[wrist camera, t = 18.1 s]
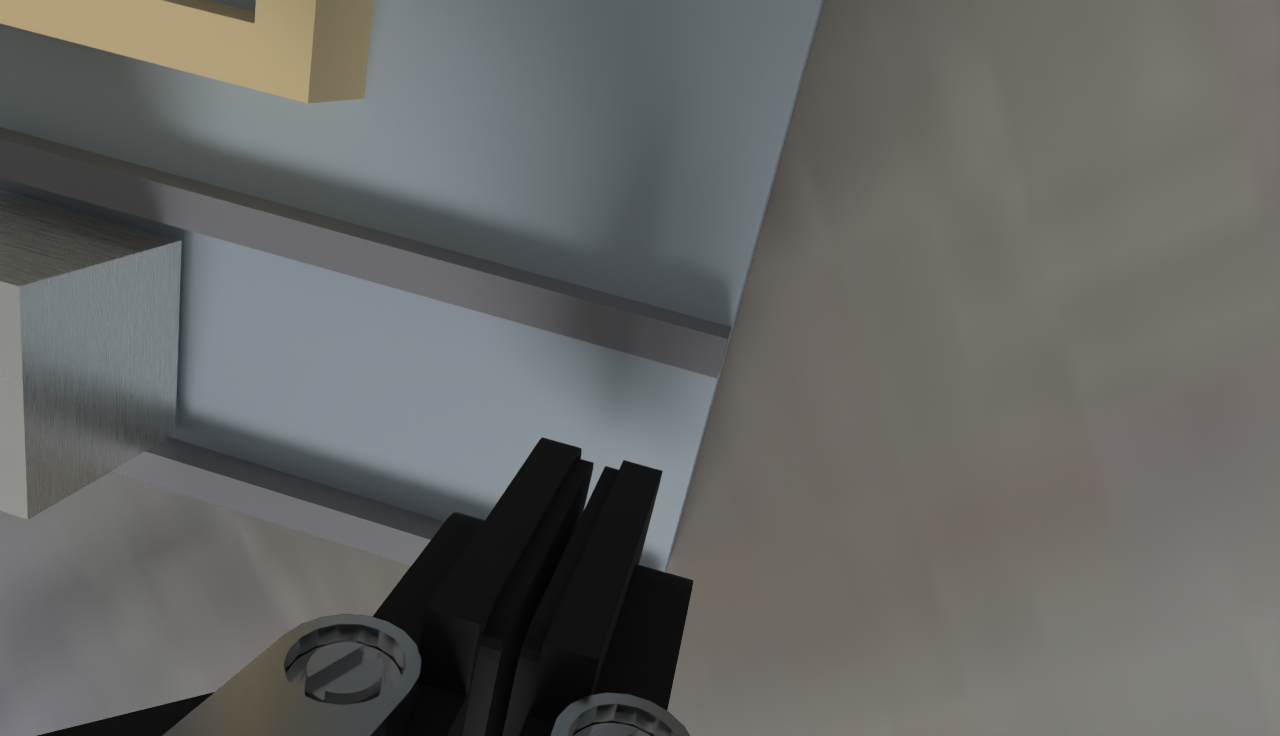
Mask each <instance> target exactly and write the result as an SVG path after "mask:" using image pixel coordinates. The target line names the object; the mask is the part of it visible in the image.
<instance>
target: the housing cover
mask: <svg viewBox="0 0 1280 736" xmlns="http://www.w3.org/2000/svg"><path fill="white" fill-rule="evenodd" d="M181 243H182V240H178V239H175V238H171V237H168V236H164V235H161V234H157V233H154V232H150V231H147V230H143V229H139V228H136V227H132V226H129V225H125V224H122V223H118V222H115V221H111V220H107V219H104V218H100V217H97V216H93V215H90V214H86V213H83V212H79V211H75V210H72V209H68V208H65V207H61V206H58V205H54V204H51V203H47V202H44V201H40V200H36V199H33V198H29V197H26V196H22V195H19V194H15V193H12V192H8V191H4V190H1V189H0V511H2V512H6V513H9V514H12V515H15V516H18V517H21V518H24V519H27V520H28V519H30V518H31V517H33V516H35V515H37V514H38V513H40V512H42V511H44V510H45V509H47V508H49V507H50V506H52V505H54V504H56V503H57V502H59V501H61V500H62V499H64V498H66V497H68V496H69V495H71V494H73V493H75V492H76V491H78V490H80V489H81V488H83V487H85V486H87V485H88V484H90V483H92V482H93V481H95V480H97V479H99V478H100V477H102V476H104V475H105V474H107V473H109V472H111V471H112V470H114V469H116V468H118V467H119V466H121V465H123V464H124V463H126V462H128V461H130V460H131V459H133V458H135V457H136V456H138V455H140V454H142V453H143V452H145V451H147V450H149V449H150V448H152V447H154V446H155V445H157V444H159V443H161V442H162V441H164V440H166V439H167V438H169V437H171V436H173V435H174V434H175V427H176V397H177V366H178V335H179V305H180V274H181Z"/></svg>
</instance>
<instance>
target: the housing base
mask: <svg viewBox="0 0 1280 736" xmlns="http://www.w3.org/2000/svg"><path fill="white" fill-rule="evenodd" d="M823 2H824V0H0V189H1V190H4V191H8V192H12V193H15V194H19V195H22V196H26V197H29V198H33V199H36V200H40V201H44V202H47V203H51V204H54V205H58V206H61V207H65V208H68V209H72V210H75V211H79V212H83V213H86V214H90V215H93V216H97V217H100V218H104V219H107V220H111V221H115V222H118V223H122V224H125V225H129V226H132V227H136V228H139V229H143V230H147V231H150V232H154V233H157V234H161V235H164V236H168V237H171V238H175V239H178V240H182V243H181V274H180V305H179V335H178V366H177V397H176V427H175V434H174V435H173V436H171V437H169V438H167V439H166V440H164V441H162V442H161V443H159V444H157V445H155V446H154V447H152V448H150V449H149V450H147V451H145V452H143V453H142V454H140V455H138V456H136V457H135V458H133V459H131V460H130V461H128V462H126V463H124V464H123V465H121V466H119V467H118V468H116V469H114V470H112V471H111V472H113V473H116V474H119V475H123V476H126V477H129V478H132V479H135V480H139V481H142V482H145V483H148V484H151V485H154V486H158V487H161V488H164V489H167V490H170V491H174V492H177V493H180V494H183V495H186V496H190V497H193V498H196V499H199V500H202V501H205V502H209V503H212V504H215V505H218V506H221V507H225V508H228V509H231V510H234V511H237V512H241V513H244V514H247V515H250V516H253V517H257V518H260V519H263V520H266V521H269V522H272V523H276V524H279V525H282V526H285V527H288V528H292V529H295V530H298V531H301V532H304V533H308V534H311V535H314V536H317V537H320V538H324V539H327V540H330V541H333V542H336V543H339V544H343V545H346V546H349V547H352V548H355V549H359V550H362V551H365V552H368V553H371V554H375V555H378V556H381V557H384V558H387V559H390V560H394V561H397V562H400V563H403V564H406V565H410V566H412V564H413V563H414V562H415V560H416V559H417V558H418V556H419V555H420V554H421V552H422V551H423V550H424V549H425V547H426V546H427V545H428V543H429V542H430V541H431V539H432V538H433V537H434V535H435V534H436V533H437V531H438V530H439V529H440V528H441V526H442V525H443V524H444V522H445V521H446V520H447V518H448V517H449V516H450V515H451V514H452V513H454V512H459V513H462V514H465V515H469V516H472V517H476V518H479V519H483V520H486V518H487V517H488V515H489V514H490V512H491V511H492V509H493V508H494V506H495V505H496V503H497V502H498V500H499V499H500V498H501V496H502V495H503V493H504V492H505V490H506V489H507V487H508V486H509V484H510V483H511V481H512V480H513V478H514V477H515V475H516V474H517V472H518V471H519V469H520V468H521V467H522V465H523V464H524V462H525V461H526V459H527V458H528V456H529V455H530V453H531V452H532V450H533V449H534V447H535V446H536V444H537V443H538V441H539V440H540V439H541V438H542V437H543V438H547V439H550V440H554V441H558V442H561V443H565V444H568V445H572V446H575V447H579V448H581V449H582V453H581V459H583V460H586V461H590V462H593V463H594V466H593V472H592V477H591V481H590V485H589V490H588V494H587V499H586V503H585V507H586V505H587V503H588V501H589V499H590V497H591V495H592V492H593V490H594V488H595V486H596V484H597V482H598V480H599V478H600V476H601V474H602V471H603V469H604V467H605V466H608V467H611V468H615V469H618V470H619V469H620V467H621V464H622V462H623V460H626V461H629V462H633V463H636V464H640V465H643V466H647V467H651V468H654V469H658V470H661V471H663V472H662V477H661V481H660V485H659V489H658V493H657V496H656V500H655V504H654V508H653V512H652V516H651V520H650V523H649V527H648V531H647V535H646V539H645V543H644V547H643V551H642V554H641V558H640V562H639V565H642V566H645V567H649V568H652V569H656V570H659V571H662V572H666V570H667V566H668V563H669V560H670V556H671V552H672V549H673V545H674V542H675V538H676V534H677V531H678V527H679V524H680V520H681V516H682V513H683V509H684V505H685V502H686V498H687V495H688V491H689V487H690V484H691V480H692V476H693V473H694V469H695V466H696V462H697V458H698V455H699V451H700V448H701V444H702V440H703V437H704V433H705V429H706V426H707V422H708V419H709V415H710V411H711V408H712V404H713V400H714V397H715V393H716V390H717V386H718V382H719V379H720V375H721V371H722V368H723V364H724V361H725V357H726V353H727V350H728V346H729V343H730V339H731V335H732V332H733V328H734V324H735V321H736V317H737V314H738V310H739V306H740V303H741V299H742V295H743V292H744V288H745V285H746V281H747V277H748V274H749V270H750V266H751V263H752V259H753V256H754V252H755V248H756V245H757V241H758V238H759V234H760V230H761V227H762V223H763V219H764V216H765V212H766V209H767V205H768V201H769V198H770V194H771V190H772V187H773V183H774V180H775V176H776V172H777V169H778V165H779V162H780V158H781V154H782V151H783V147H784V143H785V140H786V136H787V133H788V129H789V125H790V122H791V118H792V114H793V111H794V107H795V104H796V100H797V96H798V93H799V89H800V85H801V82H802V78H803V75H804V71H805V67H806V64H807V60H808V57H809V53H810V49H811V46H812V42H813V38H814V35H815V31H816V28H817V24H818V20H819V17H820V13H821V9H822V6H823ZM584 509H585V508H584Z"/></svg>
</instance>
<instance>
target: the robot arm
mask: <svg viewBox="0 0 1280 736" xmlns="http://www.w3.org/2000/svg"><path fill="white" fill-rule="evenodd" d="M581 453H582V449H581V448H579V447H575V446H572V445H568V444H565V443H561V442H558V441H554V440H550V439H547V438H543V437H542V438H541V439H540V440H539V441H538V443H537V444H536V446H535V447H534V449H533V450H532V452H531V453H530V455H529V456H528V458H527V459H526V461H525V462H524V464H523V465H522V467H521V468H520V469H519V471H518V472H517V474H516V475H515V477H514V478H513V480H512V481H511V483H510V484H509V486H508V487H507V489H506V490H505V492H504V493H503V495H502V496H501V498H500V499H499V500H498V502H497V503H496V505H495V506H494V508H493V509H492V511H491V512H490V514H489V515H488V517H487V518H486V520H483V519H479V518H476V517H472V516H469V515H465V514H462V513H459V512H454V513H452V514H451V515H450V516H449V517H448V518H447V520H446V521H445V522H444V524H443V525H442V526H441V528H440V529H439V530H438V531H437V533H436V534H435V535H434V537H433V538H432V539H431V541H430V542H429V543H428V545H427V546H426V547H425V549H424V550H423V551H422V552H421V554H420V555H419V556H418V558H417V559H416V560H415V562H414V563H413V564H412V566H411V567H410V568H409V570H408V571H407V572H406V573H405V575H404V576H403V577H402V579H401V580H400V581H399V583H398V584H397V585H396V587H395V588H394V589H393V591H392V592H391V593H390V594H389V596H388V597H387V598H386V600H385V601H384V602H383V604H382V605H381V606H380V608H379V609H378V610H377V612H376V613H375V614H374V616H373V617H371V616H365V615H353V614H341V615H332V616H324V617H320V618H317V619H314V620H311V621H308V622H305V623H302V624H300V625H299V626H297V627H296V628H294V629H292V630H291V631H289V632H288V633H286V634H284V635H283V636H282V637H281V638H280V639H278V640H277V641H276V642H275V643H274V644H272V645H271V646H270V647H269V648H267V649H266V650H265V651H264V652H263V653H261V654H260V655H259V656H258V657H257V658H255V659H254V660H253V661H252V662H251V663H249V664H248V665H247V666H246V667H245V668H243V669H242V670H241V671H240V672H239V673H237V674H236V675H235V676H234V677H233V678H231V679H230V680H229V681H228V682H226V683H225V684H224V685H223V686H222V687H220V688H219V689H218V690H217V691H216V692H213V693H209V694H205V695H201V696H197V697H193V698H189V699H185V700H181V701H176V702H172V703H168V704H164V705H160V706H156V707H152V708H148V709H144V710H140V711H136V712H132V713H128V714H124V715H119V716H115V717H111V718H107V719H103V720H99V721H95V722H91V723H87V724H83V725H79V726H75V727H71V728H67V729H62V730H58V731H54V732H50V733H46V734H42V735H38V736H690V735H689V733H688V731H687V730H686V728H685V727H684V725H682V724H681V723H680V722H679V721H678V720H677V719H676V718H675V717H674V716H673V715H672V714H671V713H669V712H668V711H667V709H668V704H669V699H670V694H671V689H672V684H673V679H674V674H675V669H676V664H677V660H678V655H679V650H680V645H681V640H682V635H683V630H684V625H685V620H686V615H687V610H688V606H689V601H690V596H691V591H692V585H693V580H690V579H687V578H683V577H680V576H676V575H673V574H669V573H666V572H662V571H659V570H656V569H652V568H649V567H645V566H642V565H639V562H640V558H641V554H642V551H643V547H644V543H645V539H646V535H647V531H648V527H649V523H650V520H651V516H652V512H653V508H654V504H655V500H656V496H657V493H658V489H659V485H660V481H661V477H662V472H663V471H661V470H658V469H654V468H651V467H647V466H643V465H640V464H636V463H633V462H629V461H626V460H623V462H622V464H621V467H620V469H619V470H618V469H615V468H611V467H608V466H605V467H604V469H603V471H602V474H601V476H600V478H599V480H598V482H597V484H596V486H595V488H594V490H593V492H592V495H591V497H590V499H589V501H588V503H587V505H586V507H585V503H586V499H587V494H588V490H589V485H590V481H591V477H592V472H593V466H594V463H593V462H590V461H586V460H583V459H581ZM584 508H585V509H584Z"/></svg>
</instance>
